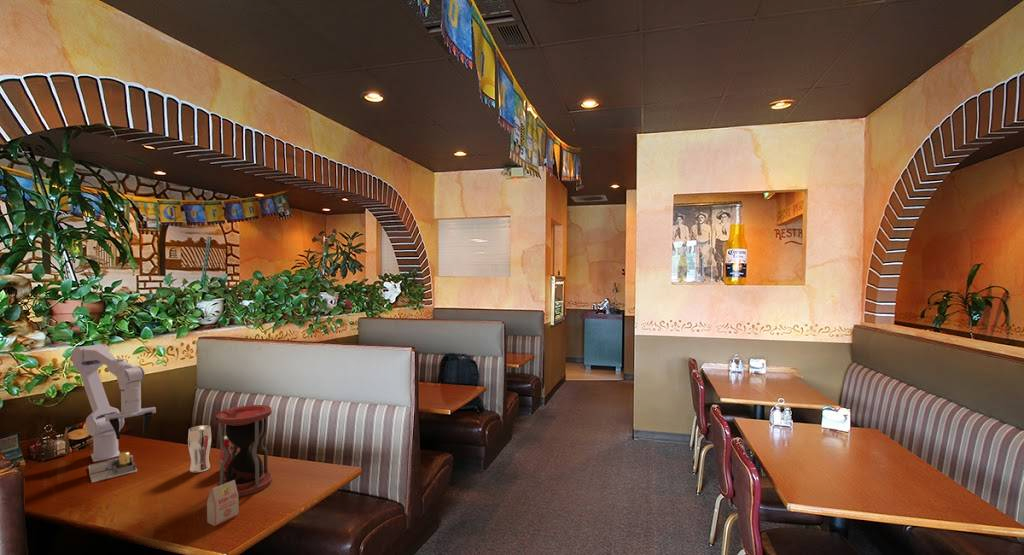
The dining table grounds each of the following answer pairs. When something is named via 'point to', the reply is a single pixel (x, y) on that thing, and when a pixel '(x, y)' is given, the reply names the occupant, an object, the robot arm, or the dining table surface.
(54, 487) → the dining table surface
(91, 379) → the robot arm
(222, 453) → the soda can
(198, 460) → the beer glass
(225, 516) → the white printed box
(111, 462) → the grey slotted holder
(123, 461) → the brass pin
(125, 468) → the hinge base
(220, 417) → the hourglass
